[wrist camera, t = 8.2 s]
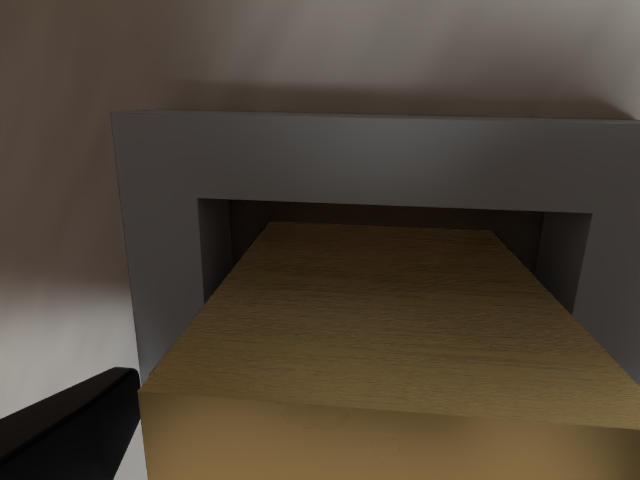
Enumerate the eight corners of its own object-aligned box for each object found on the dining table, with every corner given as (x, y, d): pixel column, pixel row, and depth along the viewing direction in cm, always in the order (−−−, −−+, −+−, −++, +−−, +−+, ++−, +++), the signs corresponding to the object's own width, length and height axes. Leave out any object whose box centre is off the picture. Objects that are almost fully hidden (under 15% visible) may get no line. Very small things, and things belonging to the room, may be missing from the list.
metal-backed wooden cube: (258, 401, 12) (147, 715, 6) (253, 220, 11) (97, 387, 4) (481, 418, 12) (612, 781, 5) (508, 231, 10) (733, 436, 4)
